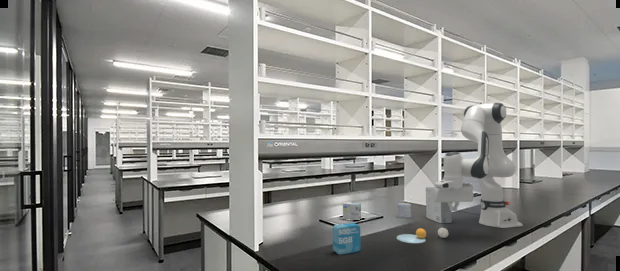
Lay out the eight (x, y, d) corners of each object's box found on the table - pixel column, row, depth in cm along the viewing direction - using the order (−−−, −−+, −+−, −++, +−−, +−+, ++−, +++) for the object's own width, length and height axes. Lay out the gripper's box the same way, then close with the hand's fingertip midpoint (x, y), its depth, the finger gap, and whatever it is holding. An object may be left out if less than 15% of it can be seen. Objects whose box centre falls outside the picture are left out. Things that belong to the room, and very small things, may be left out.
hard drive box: (452, 223, 184) (451, 189, 185) (441, 224, 182) (440, 190, 183) (436, 216, 199) (435, 186, 200) (425, 217, 198) (425, 186, 198)
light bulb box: (361, 219, 196) (361, 202, 196) (359, 221, 189) (359, 204, 190) (345, 217, 199) (344, 201, 199) (342, 220, 193) (342, 203, 193)
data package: (337, 255, 134) (336, 227, 134) (332, 251, 138) (332, 225, 138) (360, 251, 138) (360, 224, 139) (355, 248, 143) (355, 222, 143)
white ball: (435, 227, 159) (437, 237, 159) (440, 230, 154) (442, 240, 154) (443, 225, 159) (446, 234, 159) (449, 228, 154) (451, 237, 154)
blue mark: (418, 234, 163) (418, 233, 163) (430, 242, 149) (430, 242, 149) (392, 235, 162) (392, 234, 162) (402, 243, 148) (402, 243, 148)
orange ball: (417, 225, 158) (412, 234, 158) (421, 228, 153) (416, 236, 153) (425, 230, 159) (420, 238, 158) (429, 232, 154) (425, 241, 153)
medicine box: (409, 216, 201) (409, 203, 201) (411, 218, 197) (411, 204, 197) (397, 216, 202) (397, 203, 202) (398, 218, 198) (398, 204, 198)
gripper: (468, 182, 162) (469, 208, 162) (431, 183, 160) (431, 209, 160) (476, 184, 156) (476, 211, 155) (437, 184, 154) (437, 212, 154)
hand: (453, 210), depth 158 cm, fingers closed
